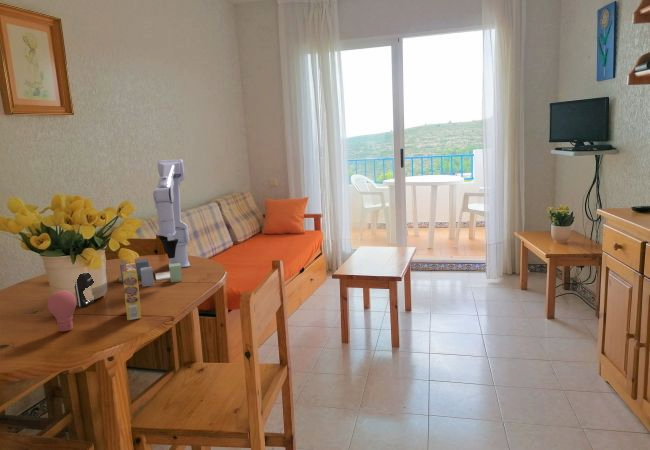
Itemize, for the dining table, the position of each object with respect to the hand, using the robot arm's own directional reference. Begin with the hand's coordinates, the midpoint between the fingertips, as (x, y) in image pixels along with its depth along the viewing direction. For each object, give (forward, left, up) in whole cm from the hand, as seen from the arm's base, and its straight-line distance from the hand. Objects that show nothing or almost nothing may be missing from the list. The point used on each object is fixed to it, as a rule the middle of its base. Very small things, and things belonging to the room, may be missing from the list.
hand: (170, 255), depth 175 cm
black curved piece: (+13, -28, -10) cm, 32 cm away
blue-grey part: (+1, -9, -9) cm, 13 cm away
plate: (-6, -2, -9) cm, 11 cm away
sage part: (+1, +1, -9) cm, 10 cm away
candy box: (+31, -14, -10) cm, 36 cm away
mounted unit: (-10, -13, -9) cm, 19 cm away
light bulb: (+35, -32, -10) cm, 49 cm away
